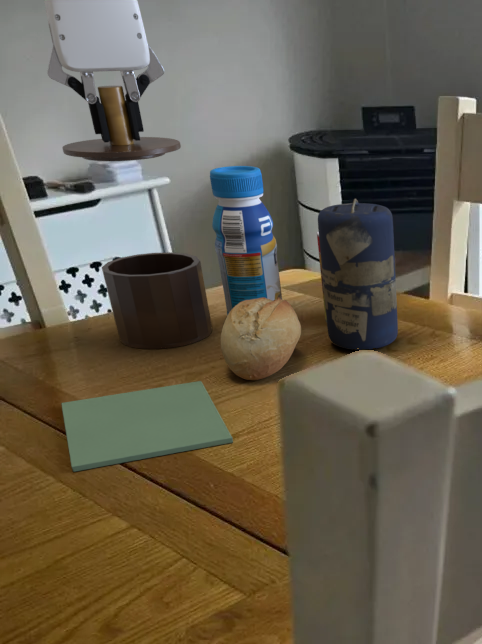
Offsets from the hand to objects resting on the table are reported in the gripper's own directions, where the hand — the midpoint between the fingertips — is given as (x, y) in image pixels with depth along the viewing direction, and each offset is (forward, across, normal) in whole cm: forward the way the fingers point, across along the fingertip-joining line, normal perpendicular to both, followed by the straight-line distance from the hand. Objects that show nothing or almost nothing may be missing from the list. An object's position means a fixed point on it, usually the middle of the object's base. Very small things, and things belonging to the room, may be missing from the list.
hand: (120, 138), depth 100 cm
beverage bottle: (+25, -14, -2) cm, 28 cm away
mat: (+25, +6, +29) cm, 38 cm away
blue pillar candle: (+25, -25, +14) cm, 38 cm away
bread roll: (+25, -11, +16) cm, 31 cm away
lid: (+1, 0, 0) cm, 1 cm away
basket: (+25, -1, -2) cm, 25 cm away
